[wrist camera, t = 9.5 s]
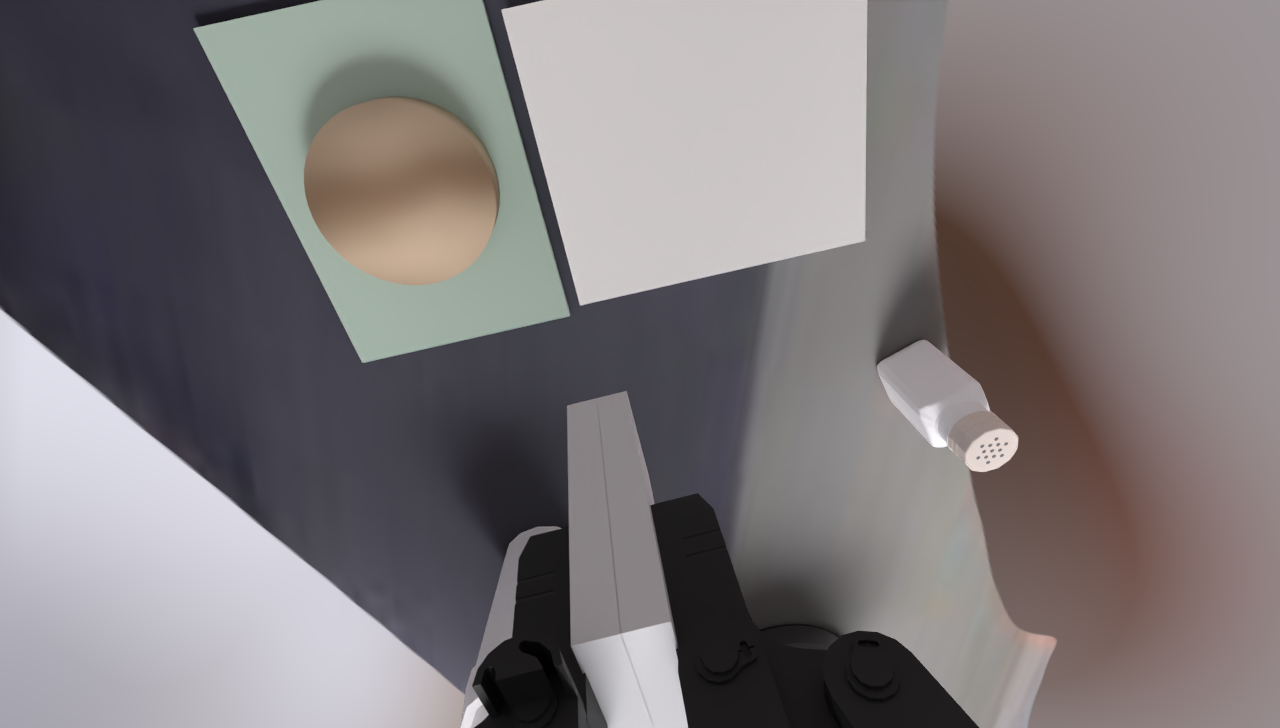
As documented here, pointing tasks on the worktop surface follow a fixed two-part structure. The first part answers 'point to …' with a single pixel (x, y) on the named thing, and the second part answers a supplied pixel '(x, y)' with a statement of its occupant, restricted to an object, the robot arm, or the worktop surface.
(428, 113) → the tan flat disc
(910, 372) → the pepper shaker
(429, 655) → the worktop surface
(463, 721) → the foam cup
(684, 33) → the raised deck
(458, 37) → the rubber mat
